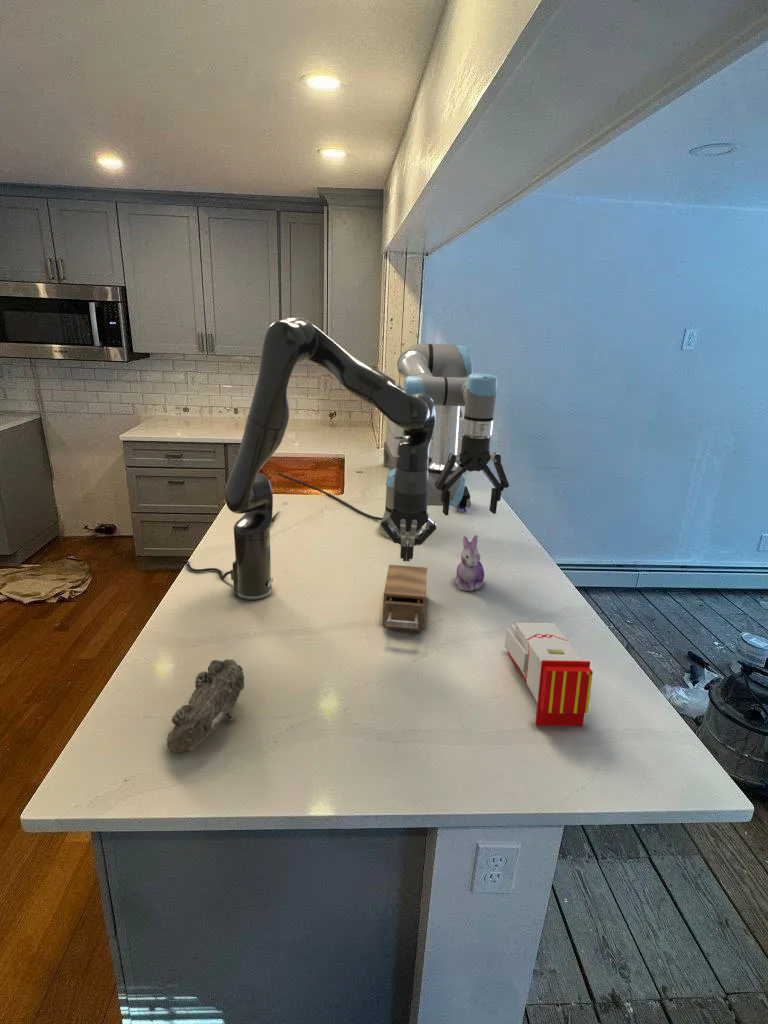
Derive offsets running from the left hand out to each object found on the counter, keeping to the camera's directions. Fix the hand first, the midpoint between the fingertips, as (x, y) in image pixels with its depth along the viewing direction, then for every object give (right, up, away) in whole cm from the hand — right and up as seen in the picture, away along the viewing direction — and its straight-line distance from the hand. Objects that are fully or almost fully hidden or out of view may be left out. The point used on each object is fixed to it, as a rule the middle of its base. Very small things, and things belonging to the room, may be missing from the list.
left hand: (406, 560), depth 129 cm
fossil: (-38, -28, -21) cm, 52 cm away
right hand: (+18, +11, +24) cm, 32 cm away
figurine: (+20, -10, +36) cm, 42 cm away
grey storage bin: (+12, +30, +146) cm, 149 cm away
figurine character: (+26, +13, +100) cm, 104 cm away
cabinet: (0, -15, +20) cm, 25 cm away
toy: (+28, -26, -7) cm, 39 cm away
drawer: (0, -16, +14) cm, 22 cm away
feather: (-45, +10, +83) cm, 95 cm away
